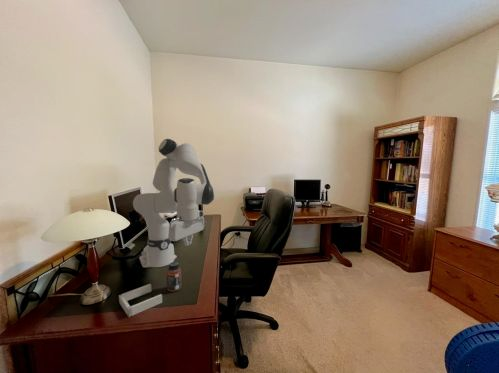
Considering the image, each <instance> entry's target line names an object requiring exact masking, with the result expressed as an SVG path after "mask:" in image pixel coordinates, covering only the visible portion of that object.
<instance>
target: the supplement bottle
mask: <svg viewBox="0 0 499 373" xmlns="http://www.w3.org/2000/svg"><path fill="white" fill-rule="evenodd" d="M166 287H167V291H168V292H171V293H172V292H173V293H174V292H178V291H180V290H181V289H182V268H181V267H180V263H179V262H178V261H173V262H172V263H170V264H169V265H168V268H167V269H166Z"/></svg>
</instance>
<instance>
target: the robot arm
mask: <svg viewBox="0 0 499 373" xmlns="http://www.w3.org/2000/svg"><path fill="white" fill-rule="evenodd" d="M158 152H159V153H160V154H161V155H162V156H164V157H165V158H162V159H161V160H160V161H159V162H158V165H157V166H156V169H155V172H154V175H153V178H152V185H153V187H154V188H155V189H156V190H157V191H159V192H145V193H139V194H137V195H136V196H134V198H133V200H132V206H133V209H134V210H135V212H136V213H138V214H140V215H141V216H142V218H143V219H144V221H145V223H146V225H147V226H146V227H147V232H148V233H147V234H148V237H147V245H146V246H145V247H144V248H143V250H142V251H141V252H140V253H141V255H139V258H138V259H139V261H140V264H141V266H142V268H162V267H165V266H169V264H170V263H172V262H175V259H176V258H177V255H176V254H175V248H174V244H173V243H172V242H177V241H181V240H182V241H183V245H184V246H186V247H188V246H190V245H192V241H193V237H194V235H195V234H197V233H199V232H201V231H203V230H204V228H205V217H204V216H205V211H203V210H199V209H198V205H205V206H206V205H210V204H211V203H212V202H213V201H214V200H215V199H214V198H215V190H214V188H213V186H212V184H211V181H210V180H209V177H208V173H207V171H206V169H205V167H204V165H203V164H202V163H201V162H199V161H198V160H197V153H196V151H195V147H194V146H193V145H192V144H191V143H187V142H185V143H181V144H179V143H178V142H176V141H174V140H173V139H171V138H165V139H163V140H162V141H161V142H160V144H159V146H158ZM177 169H178V171H180V173H183V174H185V175H189V176H193V177H196V178H198V179H199V182H200V184H196V180H195V179H193V178H189V177H188V178H187V177H185V178H184V177H183V178H179V179H178V180H177V182H176V187H175V189H174V180H175V177H176V176H175V175H176V170H177ZM171 213H176V217H174V218H171V221H170V222H169V221H168V220H167V219H165V218H163V217H162V216H161V215H160V214H171Z"/></svg>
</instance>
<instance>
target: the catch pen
mask: <svg viewBox="0 0 499 373" xmlns="http://www.w3.org/2000/svg"><path fill="white" fill-rule="evenodd" d="M151 292H152V284H151V283H149V284H146V285H143V286H141V287H137V288H135V289H132V290H129V291H127V292H124V293H122V294H119V295H118V303H119V305H120V306H121V308H122V310H123V311H124V312H125V314H126V315H127V317H128V318H130V317H132V316H134V315H137V314H139V313H141V312H142V313H143V311H146V310H149V309H151V308H153V307H155V306H157V305H160V304H162V303H163V294H161V293H160V294H157V295H155V296H154V297H151V298H148V299H145V300H143V301H141V302H139V303H136V304H133V305H130V304H129V302H128V301H130V300H133V299H136V298H139V297H140V296H141V297H142V296H144V295H146V294H148V293H151Z"/></svg>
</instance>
